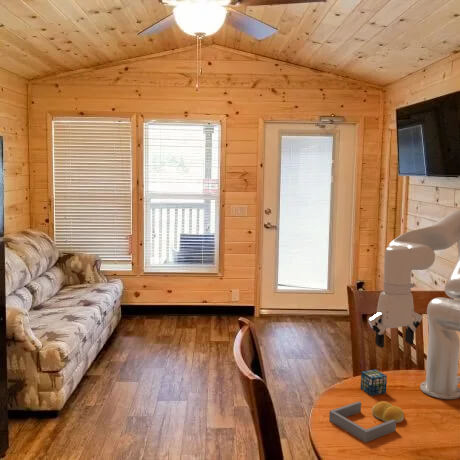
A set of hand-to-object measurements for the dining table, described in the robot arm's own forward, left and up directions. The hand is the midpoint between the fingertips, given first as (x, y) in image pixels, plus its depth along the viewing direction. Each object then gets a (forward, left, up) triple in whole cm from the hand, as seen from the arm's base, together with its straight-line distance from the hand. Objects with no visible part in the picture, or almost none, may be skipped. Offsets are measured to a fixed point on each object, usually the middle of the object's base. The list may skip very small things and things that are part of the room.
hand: (394, 344), depth 151 cm
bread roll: (+2, +1, -22) cm, 22 cm away
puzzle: (-8, -14, -22) cm, 27 cm away
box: (+12, +1, -21) cm, 25 cm away
